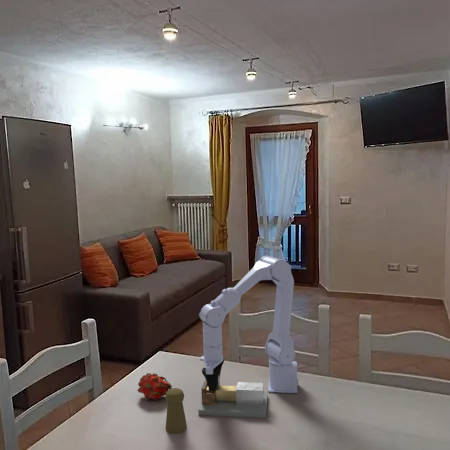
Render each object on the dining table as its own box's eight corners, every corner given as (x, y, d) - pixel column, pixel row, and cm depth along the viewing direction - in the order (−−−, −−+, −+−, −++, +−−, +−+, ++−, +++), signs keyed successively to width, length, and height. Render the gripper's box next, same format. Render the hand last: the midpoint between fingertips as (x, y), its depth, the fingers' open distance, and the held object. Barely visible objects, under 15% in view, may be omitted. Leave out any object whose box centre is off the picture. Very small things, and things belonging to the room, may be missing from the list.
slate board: (267, 397, 137) (267, 392, 137) (265, 418, 125) (265, 413, 125) (205, 394, 140) (205, 390, 140) (198, 414, 128) (198, 409, 128)
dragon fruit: (137, 398, 142) (171, 408, 139) (128, 394, 135) (163, 404, 132) (146, 372, 146) (179, 381, 143) (138, 367, 139) (172, 376, 135)
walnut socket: (217, 395, 136) (217, 380, 136) (214, 405, 131) (214, 389, 130) (205, 395, 137) (204, 380, 136) (202, 404, 131) (201, 388, 131)
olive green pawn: (183, 434, 118) (181, 396, 117) (162, 432, 120) (160, 395, 119) (189, 422, 124) (187, 386, 123) (169, 420, 126) (167, 384, 124)
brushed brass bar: (245, 396, 134) (245, 373, 133) (244, 401, 130) (244, 378, 130) (207, 394, 135) (206, 372, 134) (205, 399, 132) (205, 377, 131)
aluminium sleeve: (263, 398, 134) (263, 382, 133) (262, 406, 129) (262, 390, 128) (238, 397, 135) (237, 381, 134) (236, 405, 130) (235, 389, 129)
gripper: (204, 335, 139) (205, 375, 141) (194, 353, 125) (196, 397, 126) (225, 335, 138) (227, 375, 140) (218, 353, 124) (220, 398, 125)
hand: (214, 386), depth 133 cm, fingers open, 5 cm apart
